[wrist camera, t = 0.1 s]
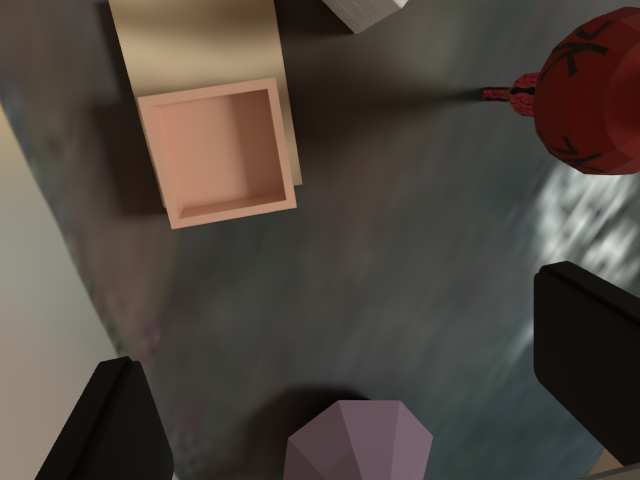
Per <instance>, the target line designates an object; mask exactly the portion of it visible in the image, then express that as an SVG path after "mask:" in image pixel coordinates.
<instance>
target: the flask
mask: <svg viewBox="0 0 640 480" xmlns="http://www.w3.org/2000/svg"><path fill="white" fill-rule="evenodd" d="M432 439H433V436H432V435H431V434H430V433H429V432H428V431H427V429H426V428H425V427H424V426H423V425H422V424H421V423H420V422H419V421H418V420H417V419H416V417H415V416H414V415H413V414H412V413H411V412H410V411H409V410H408V409H407V408H406V407H405V405H404V404H403V403H402V402H401V401H399V400H338V401H336V402H335V403H334V404H332V405H331V406H330V407H329V408H327V409H326V410H325V411H323V412H322V413H321V414H319V415H318V416H317V417H315V418H314V419H313V420H311V421H310V422H309V423H307V424H306V425H305V426H303V427H302V428H301V429H299V430H298V431H297V432H295V433H294V434H293V435H291V436H290V437H289V438H288V442H287V450H286V458H285V467H284V475H283V480H423V477H424V473H425V468H426V464H427V460H428V456H429V452H430V448H431V443H432Z"/></svg>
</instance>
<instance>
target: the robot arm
mask: <svg viewBox="0 0 640 480" xmlns="http://www.w3.org/2000/svg"><path fill="white" fill-rule="evenodd" d="M534 372H535V375H536V377H537V379H538V381H539V382H540V383H541V384H542V385H543V386H544V387H545V388H546V389H547V390H548V391H549V392H550V393H551V394H552V395H553V396H554V397H555V398H556V399H557V400H558V401H559V402H560V403H561V404H562V405H563V406H564V407H565V408H566V409H567V410H568V411H569V412H570V413H571V414H572V415H573V416H574V417H575V418H576V419H577V420H578V421H579V422H580V423H581V424H582V425H583V426H584V427H585V428H586V429H587V430H588V431H589V432H590V433H591V434H592V435H593V436H594V437H595V438H596V439H597V440H598V441H599V442H600V443H601V444H602V445H603V446H604V447H605V448H606V449H607V450H608V451H609V452H610V453H611V454H612V455H613V456H614V457H615V458H616V459H617V460H618V461H619V462H620V463H621V464H622V465H623V466H624V467H621V468H617V469H613V470H609V471H605V472H602V473H597V474H593V475H590V476H586V477H582V478H578V479H574V480H640V299H639V298H638V297H636V296H634V295H632V294H630V293H628V292H626V291H624V290H622V289H621V288H619V287H617V286H615V285H613V284H611V283H609V282H607V281H606V280H604V279H602V278H600V277H598V276H596V275H594V274H592V273H590V272H589V271H587V270H585V269H583V268H581V267H579V266H577V265H575V264H573V263H572V262H569V261H563V262H558V263H553V264H549V265H544V266H542V267H541V268H540V270H539V273H537V274H536V275H535V276H534ZM173 471H174V460H173V455H172V451H171V448H170V446H169V443H168V440H167V437H166V434H165V431H164V428H163V425H162V423H161V420H160V417H159V414H158V411H157V408H156V405H155V402H154V399H153V397H152V394H151V391H150V388H149V385H148V382H147V379H146V376H145V374H144V371H143V368H142V365H141V363H140V362H139V361H133V362H132V360H131V359H130V357H128V356H125V357H121V358H117V359H112V360H107V361H103V362H100V363H99V364H98V366H97V368H96V369H95V372H94V373H93V375H92V377H91V378H90V380H89V382H88V384H87V386H86V387H85V389H84V391H83V393H82V395H81V396H80V398H79V400H78V402H77V404H76V405H75V408H74V409H73V411H72V413H71V415H70V416H69V418H68V420H67V422H66V424H65V425H64V427H63V429H62V431H61V433H60V434H59V436H58V438H57V440H56V442H55V443H54V445H53V447H52V449H51V451H50V453H49V454H48V456H47V458H46V460H45V462H44V463H43V465H42V467H41V469H40V471H39V472H38V474H37V476H36V478H35V480H172V477H173Z"/></svg>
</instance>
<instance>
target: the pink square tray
mask: <svg viewBox="0 0 640 480" xmlns="http://www.w3.org/2000/svg"><path fill="white" fill-rule="evenodd" d="M137 99H138V103H139V107H140V111H141V114H142V118H143V122H144V126H145V129H146V133H147V137H148V141H149V144H150V148H151V152H152V156H153V160H154V163H155V167H156V171H157V175H158V178H159V182H160V186H161V190H162V193H163V197H164V201H165V205H166V209H167V212H168V216H169V220H170V224H171V227H172V229H176V228H182V227H187V226H193V225H199V224H204V223H210V222H216V221H221V220H227V219H233V218H238V217H244V216H250V215H255V214H261V213H267V212H272V211H278V210H284V209H289V208H295V207H297V206H296V200H295V194H294V188H293V182H292V176H291V170H290V164H289V157H288V151H287V145H286V139H285V133H284V127H283V121H282V115H281V109H280V102H279V96H278V90H277V84H276V78H275V77H273V78H267V79H260V80H253V81H246V82H239V83H233V84H226V85H219V86H212V87H206V88H199V89H192V90H185V91H179V92H172V93H165V94H158V95H151V96H145V97H138V98H137Z"/></svg>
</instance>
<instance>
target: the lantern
mask: <svg viewBox="0 0 640 480" xmlns="http://www.w3.org/2000/svg"><path fill="white" fill-rule="evenodd" d="M482 97H483V99H484V100H486V101H500V102H510V104H511V106H512V107H513V109H514V111H515V112H517V113H519V114H521V115H523V116H532V117H534V122H535V128H536V133H537V135H538V136H539V138H540V139H541V141H542V142H543V144H544V145H545V147H546V148H547V150H548V152H549V153H550V154H552V155H553V156H555V157H556V158H558V159H559V160H561V161H562V162H564V163H566V164H568V165H569V166H571V167H573V168H575V169H576V170H578V171H580V172H582V173H583V174H592V175H626V174H635V173H637V172H640V8H635V7H623V8H621V9H618V10H615V11H613V12H610V13H607V14H604V15H602V16H599V17H596V18H594V19H592V20H590V21H589V22H587V23H585V24H583V25H581V26H580V27H578V28H576V29H575V30H574V31H573V32H572V33H571V34H569V35H568V36H567V37H566V38H565V39H564V40H563V41H562V42H560V43H559V44H558V45H557V46H556V47H555V48H554V49H553V50H552V52H551V54H550V56H549V58H548V59H547V61H546V63H545V65H544V66H543V68H542V70H541V72H540V73H531V74H524V75H523V76H522V77H520V78H519V79H518V80H516V81H515V83H514V85H513V86H512V87H487V88H485V89H484V90H483V93H482Z"/></svg>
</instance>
